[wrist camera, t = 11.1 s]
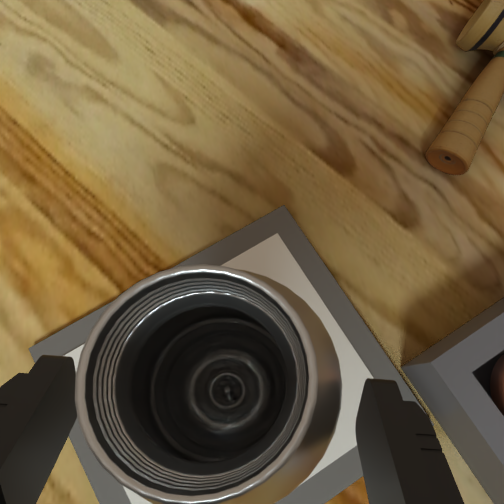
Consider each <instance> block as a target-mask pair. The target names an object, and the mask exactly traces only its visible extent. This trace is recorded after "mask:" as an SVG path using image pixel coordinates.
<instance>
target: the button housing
mask: <svg viewBox="0 0 504 504" xmlns="http://www.w3.org/2000/svg"><path fill="white" fill-rule="evenodd" d="M503 354H504V298H502V299H501V300H500V301H498V302H497V303H495V304H494V305H492V306H491V307H489V308H488V309H486V310H485V311H483V312H482V313H480V314H479V315H477V316H476V317H474V318H473V319H471V320H470V321H468V322H467V323H466V324H464V325H463V326H461V327H460V328H458V329H457V330H455V331H454V332H452V333H451V334H449V335H448V336H446V337H445V338H443V339H442V340H440V341H439V342H437V343H436V344H434V345H433V346H431V347H430V348H429V349H427V350H426V351H424V352H423V353H421V354H420V355H418V356H417V357H415V358H414V359H412V360H411V361H409V362H408V363H406V364H405V365H403V366H402V367H401V369H402V370H403V371H404V373H405V374H406V376H407V377H408V379H409V380H410V382H411V383H412V385H413V386H414V388H415V389H416V390H417V392H418V393H419V395H420V396H421V398H422V399H423V401H424V402H425V404H426V405H427V406H428V408H429V409H430V411H431V412H432V414H433V415H434V417H435V418H436V420H437V421H438V423H439V424H440V425H441V427H442V428H443V430H444V431H445V433H446V434H447V436H448V437H449V439H450V440H451V442H452V443H453V444H454V446H455V447H456V449H457V450H458V452H459V453H460V455H461V456H462V458H463V459H464V461H465V462H466V463H467V465H468V466H469V468H470V469H471V471H472V472H473V474H474V475H475V477H476V478H477V480H478V481H479V482H480V484H481V485H482V487H483V488H484V490H485V491H486V493H487V494H488V496H489V497H490V498H491V500H492V501H493V503H494V504H504V416H503V415H502V413H501V412H500V411H499V409H498V408H497V407H496V405H495V404H494V402H493V401H492V397H491V392H490V378H491V373H492V370H493V368H494V365H495V364H496V362H497V361H498V359H499V358H500V357H501V356H502V355H503Z"/></svg>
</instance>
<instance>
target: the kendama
mask: <svg viewBox="0 0 504 504" xmlns="http://www.w3.org/2000/svg"><path fill="white" fill-rule="evenodd" d="M456 45H457V46H459V47H460V48H461V49H462V50H464V51H471V50H477V49H485V50H490V51H493V55H495V56H494V57H493V58H492V59H491V61H490V62H489V63H488V65H487V66H486V67H485V68H484V70H483V71H482V72H481V73H480V75H479V76H478V77H477V79H476V80H475V81H474V83H473V84H472V85H471V87H470V88H469V90H468V91H467V93H466V94H465V95H464V97H463V98H462V100H461V102H460V104H459V105H458V106H457V108H456V109H455V111H454V112H453V114H452V115H451V117H450V118H449V120H448V121H447V123H446V124H445V126H444V127H443V129H442V130H441V132H440V133H439V135H438V136H437V137H436V139H435V140H434V141H433V143H432V144H431V146H430V147H429V148H428V150H427V151H426V155H425V156H426V159H427V161H428V162H429V163H430V165H432V166H433V167H434V168H436V169H438V170H440V171H442V172H444V173H447V174H451V175H461V174H464V173H466V172H467V171H468V169H469V167H470V165H471V162H472V160H473V158H474V155H475V153H476V150H477V148H478V146H479V144H480V142H481V139H482V137H483V135H484V133H485V131H486V128H487V127H488V125H489V123H490V121H491V119H492V116H493V114H494V112H495V110H496V108H497V106H498V104H499V102H500V99H501V97H502V95H503V92H504V0H484V1H483V3H482V4H481V5H480V6H479V8H478V9H477V10H476V12H475V13H474V14H473V16H472V17H471V18H470V20H469V21H468V23H467V24H466V26H465V27H464V29H463V30H462V32H461V33H460V35H459V37H458V39H457V41H456Z"/></svg>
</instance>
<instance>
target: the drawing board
mask: <svg viewBox="0 0 504 504" xmlns="http://www.w3.org/2000/svg"><path fill="white" fill-rule="evenodd" d="M200 264H207V265H217V266H226V267H229V268H233V269H239V270H246V271H249V272H253V273H256V274H260V275H263V276H267V277H269V278H271V279H273V280H274V281H276V282H278V283H280V284H282V285H284V286H286V287H288V288H289V289H290V290H292V291H293V292H294V293H295V294H297V295H298V296H299V297H301V298H302V299H303V300H304V301H305V302H306V303H307V304H308V305H309V306H310V307H311V309H312V310H313V311H314V312H315V313H316V314H317V315H318V317H319V318H320V319H321V321H322V323H323V324H324V326H325V328H326V330H327V331H328V333H329V335H330V337H331V339H332V341H333V344H334V347H335V350H336V353H337V356H338V359H339V364H340V371H341V378H342V399H341V410H340V414H339V418H338V422H337V426H336V430H335V434H334V436H333V438H332V440H331V442H330V444H329V446H328V448H327V450H326V452H325V454H324V456H323V458H322V459H321V460H320V462H319V463H318V464H317V466H316V467H315V469H314V470H313V471H312V473H311V474H310V475H309V477H308V478H307V479H305V480H304V481H303V482H302V483H301V484H300V485H299V486H298V487H297V488H295V489H294V490H293V491H292V492H291V493H290V494H289V495H287V496H286V497H284V498H282V499H280V500H279V501H277V502H275V503H274V504H324V503H326V502H327V501H329V500H330V499H331V498H333V497H334V496H336V495H337V494H338V493H340V492H341V491H343V490H344V489H345V488H347V487H348V486H350V485H351V484H352V483H354V482H355V481H357V480H358V479H359V478H361V477H362V476H363V471H362V466H361V461H360V456H359V452H358V447H357V442H356V433H355V425H356V417H357V412H358V408H359V404H360V400H361V396H362V391H363V387H364V383H365V380H366V379H367V378H372V379H386V380H395V381H396V382H397V384H398V387H399V390H400V393H401V395H402V398H403V401H415V402H416V403H417V404H418V405H419V406H420V407H421V405H420V404H419V402H418V401H417V399H416V398H415V396H414V395H413V393H412V392H411V390H410V389H409V387H408V386H407V385H406V383H405V382H404V380H403V379H402V377H401V376H400V374H399V373H398V371H397V370H396V368H395V367H394V365H393V364H392V363H391V361H390V360H389V358H388V357H387V355H386V354H385V352H384V351H383V349H382V348H381V346H380V345H379V343H378V342H377V341H376V339H375V338H374V336H373V335H372V333H371V332H370V330H369V329H368V327H367V326H366V324H365V323H364V321H363V320H362V318H361V317H360V316H359V314H358V313H357V311H356V310H355V308H354V307H353V305H352V304H351V302H350V301H349V299H348V298H347V296H346V295H345V294H344V292H343V291H342V289H341V288H340V286H339V285H338V283H337V282H336V280H335V279H334V277H333V276H332V274H331V273H330V271H329V270H328V269H327V267H326V266H325V264H324V263H323V261H322V260H321V258H320V257H319V255H318V254H317V252H316V251H315V249H314V248H313V247H312V245H311V244H310V242H309V241H308V239H307V238H306V236H305V235H304V233H303V232H302V230H301V229H300V227H299V226H298V225H297V223H296V222H295V220H294V219H293V217H292V216H291V214H290V213H289V211H288V210H287V208H286V207H285V205H283V206H281V207H279V208H278V209H276V210H274V211H272V212H271V213H269V214H267V215H265V216H263V217H262V218H260V219H258V220H256V221H255V222H253V223H251V224H249V225H247V226H246V227H244V228H242V229H240V230H239V231H237V232H235V233H233V234H231V235H230V236H228V237H226V238H224V239H223V240H221V241H219V242H217V243H215V244H214V245H212V246H210V247H208V248H206V249H205V250H203V251H201V252H199V253H198V254H196V255H194V256H192V257H190V258H189V259H187V260H185V261H183V262H182V263H180V264H178V265H176V266H174V267H173V268H176V267H180V266H187V265H200ZM171 269H172V268H171ZM112 303H113V301H112V302H110V303H109V304H107V305H105V306H103V307H102V308H100V309H98V310H96V311H94V312H93V313H91V314H89V315H87V316H85V317H84V318H82V319H80V320H78V321H77V322H75V323H73V324H71V325H69V326H68V327H66V328H64V329H62V330H61V331H59V332H57V333H55V334H53V335H52V336H50V337H48V338H46V339H45V340H43V341H41V342H39V343H37V344H36V345H34V346H32V347H30V348H29V351H30V353H31V355H32V357H33V360H34V362H35V363H36V361H37V360H38V359H39V357H40V356H42V355H54V356H69V357H72V358H73V360H74V365H75V371H76V372H77V367H78V363H79V359H80V354H81V351H82V349H83V347H84V344H85V342H86V340H87V338H88V335H89V333H90V331H91V329H92V328H93V326H94V325H95V323H96V322H97V321H98V319H99V318H100V316H101V315H102V313H103V312H104V311H105V310H106V309H107V308H108V307H109V306H110V305H111V304H112ZM421 409H422V410H423V408H422V407H421ZM423 411H424V410H423ZM424 412H425V411H424ZM425 413H426V412H425ZM430 421H431V420H430ZM431 423H432V421H431ZM433 425H434V424H433V423H432V426H433ZM69 438H70V440H71V442H72V445H73V447H74V449H75V451H76V453H77V455H78V458H79V460H80V462H81V464H82V466H83V469H84V471H85V473H86V475H87V477H88V479H89V482H90V484H91V486H92V488H93V490H94V492H95V495H96V497H97V499H98V501H99V503H100V504H152V503H150V502H149V501H147V500H145V499H144V498H142V497H140V496H139V495H138V494H136V493H134V492H133V491H131V490H129V489H128V488H126V487H124V486H123V485H121V484H119V483H118V482H117V481H116V480H115V479H114V478H113V477H112V476H111V475H110V474H109V473H108V472H107V471H106V470H105V469H104V468H103V467H102V466H101V465H100V463H99V462H98V461H97V459H96V458H95V456H94V455H93V453H92V452H91V450H90V449H89V447H88V445H87V443H86V440H85V438H84V435H83V433H82V430H81V428H80V425H79V422H78V416H77V418H76V421H75V423H74V425H73V427H72V429H71V431H70V434H69Z"/></svg>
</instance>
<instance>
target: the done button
mask: <svg viewBox="0 0 504 504" xmlns="http://www.w3.org/2000/svg"><path fill="white" fill-rule="evenodd" d="M490 392H491V397H492V401H493V402H494V404H495V405H496V407H497V408H498V409H499V411H500V412H501V413H502V415H503V416H504V354H503V355H502V356H501V357H500V358H499V359H498V361H497V362H496V364H495V365H494V368H493V370H492V373H491V378H490Z"/></svg>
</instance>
